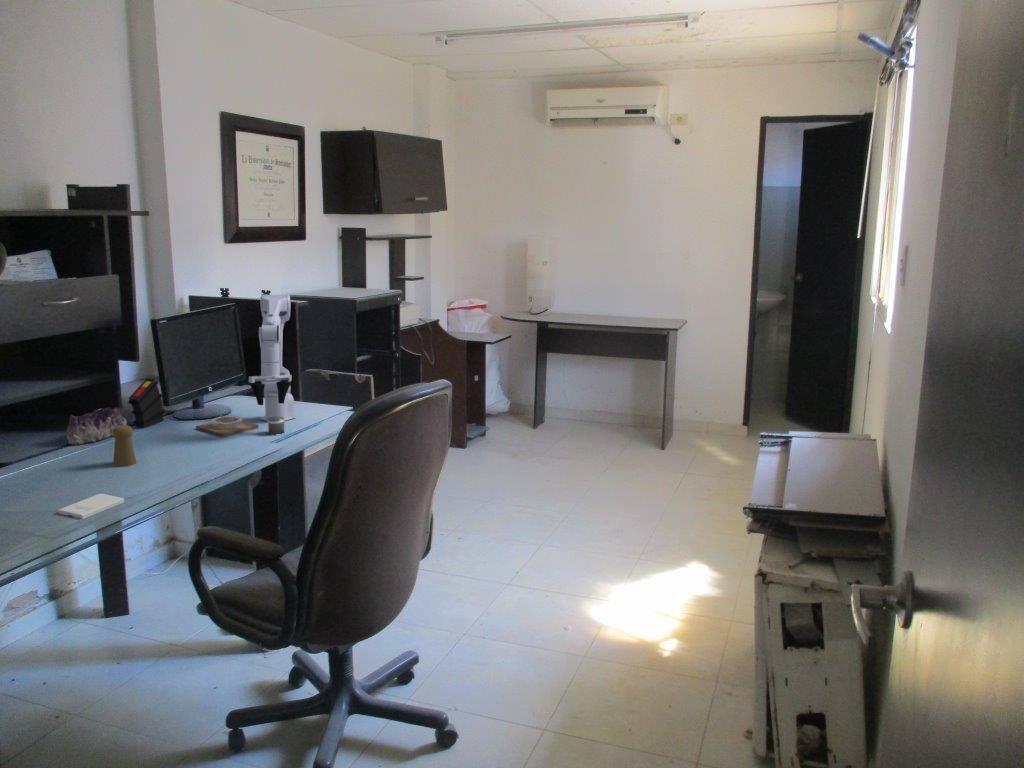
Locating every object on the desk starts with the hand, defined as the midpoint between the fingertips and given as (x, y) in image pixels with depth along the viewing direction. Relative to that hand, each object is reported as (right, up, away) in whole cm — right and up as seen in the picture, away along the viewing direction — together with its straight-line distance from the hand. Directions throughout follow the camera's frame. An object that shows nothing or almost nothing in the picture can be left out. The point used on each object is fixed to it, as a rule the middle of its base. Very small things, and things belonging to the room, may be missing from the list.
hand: (270, 404), depth 267 cm
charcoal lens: (+1, -10, +3) cm, 10 cm away
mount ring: (-16, -8, +6) cm, 19 cm away
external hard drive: (-25, -25, -64) cm, 73 cm away
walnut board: (-16, -8, +6) cm, 19 cm away
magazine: (-43, -7, +7) cm, 44 cm away
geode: (-52, -11, -8) cm, 54 cm away
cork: (-33, -16, -32) cm, 48 cm away
